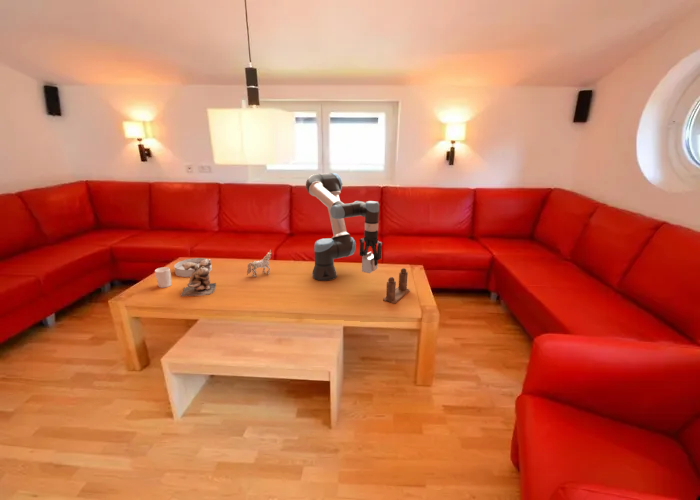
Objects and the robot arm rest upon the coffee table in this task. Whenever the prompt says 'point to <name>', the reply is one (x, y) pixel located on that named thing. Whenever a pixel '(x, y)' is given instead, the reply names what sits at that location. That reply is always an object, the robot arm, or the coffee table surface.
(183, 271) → the dish
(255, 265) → the unicorn figurine
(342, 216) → the robot arm
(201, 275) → the cherub figurine
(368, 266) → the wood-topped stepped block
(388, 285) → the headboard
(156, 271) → the white cup
